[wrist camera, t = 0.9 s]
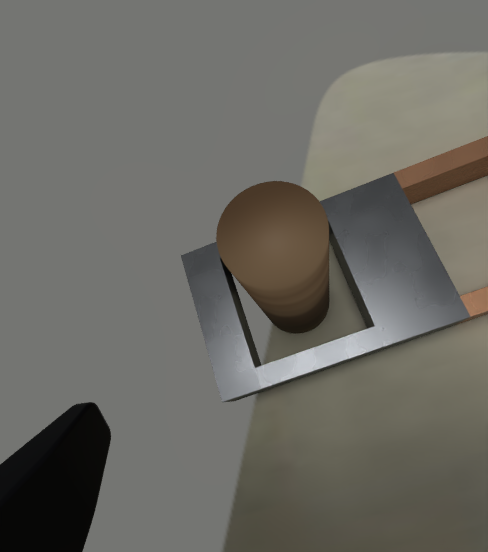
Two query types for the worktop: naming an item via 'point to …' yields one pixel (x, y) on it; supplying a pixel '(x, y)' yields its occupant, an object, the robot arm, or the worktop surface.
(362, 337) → the grey copper flat frame
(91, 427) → the robot arm
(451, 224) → the worktop surface
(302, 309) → the walnut peg
